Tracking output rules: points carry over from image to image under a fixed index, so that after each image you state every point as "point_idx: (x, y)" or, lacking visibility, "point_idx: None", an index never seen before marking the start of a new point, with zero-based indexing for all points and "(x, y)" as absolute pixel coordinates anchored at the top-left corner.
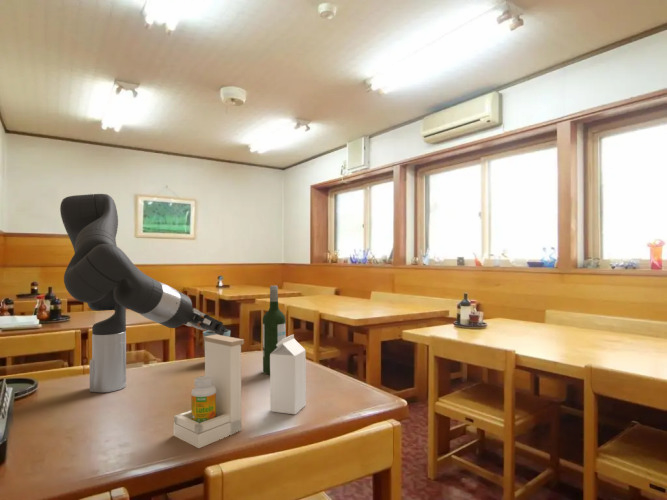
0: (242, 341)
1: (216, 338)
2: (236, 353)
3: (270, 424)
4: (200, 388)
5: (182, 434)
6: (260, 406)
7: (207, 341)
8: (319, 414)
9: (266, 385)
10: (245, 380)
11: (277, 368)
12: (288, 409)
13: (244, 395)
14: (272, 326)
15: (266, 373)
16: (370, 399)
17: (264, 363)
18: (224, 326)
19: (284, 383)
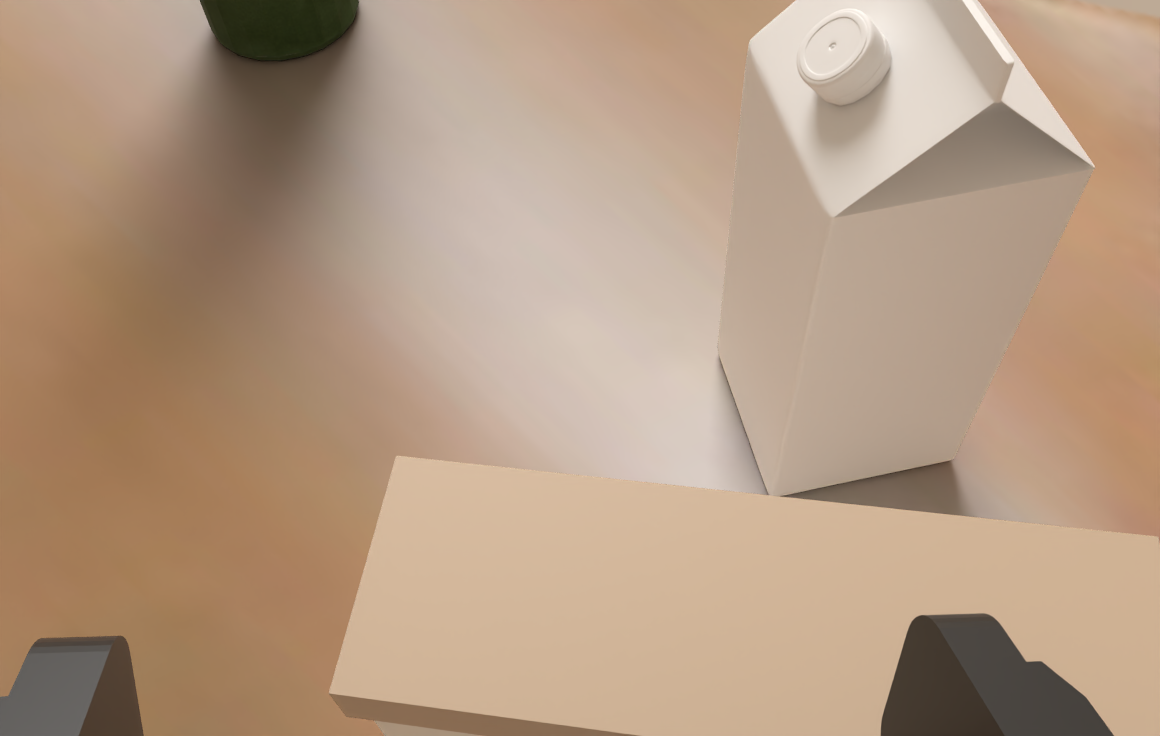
0: (1151, 577)
1: (669, 697)
2: None
3: None
4: None
5: None
6: (633, 461)
7: (452, 731)
8: (1067, 381)
9: (399, 188)
10: (202, 184)
11: (887, 292)
12: (913, 456)
13: (385, 371)
14: None
15: (265, 57)
16: (1116, 95)
17: (226, 2)
18: (1016, 653)
19: (925, 356)
